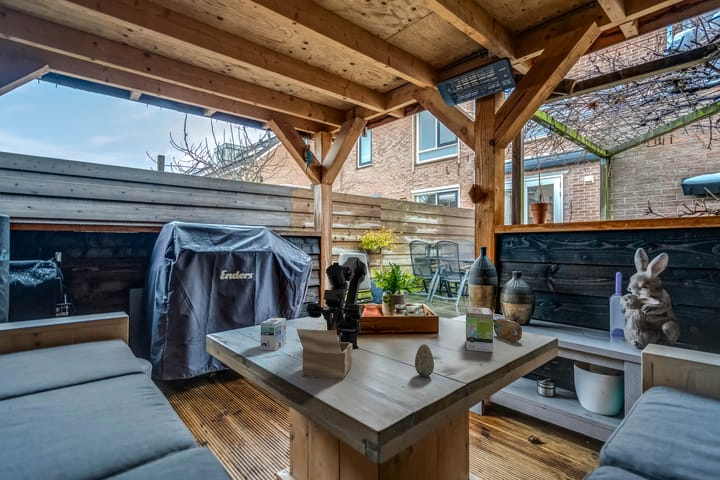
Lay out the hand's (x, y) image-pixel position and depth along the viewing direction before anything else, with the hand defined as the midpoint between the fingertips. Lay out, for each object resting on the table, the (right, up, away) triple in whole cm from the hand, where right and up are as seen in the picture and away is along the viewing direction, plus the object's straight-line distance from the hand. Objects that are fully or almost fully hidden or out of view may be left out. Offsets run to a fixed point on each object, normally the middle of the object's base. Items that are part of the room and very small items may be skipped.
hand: (329, 332), depth 114 cm
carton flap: (-2, 0, -10) cm, 10 cm away
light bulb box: (-25, -13, +27) cm, 39 cm away
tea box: (+59, -13, +27) cm, 66 cm away
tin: (+75, -13, +37) cm, 85 cm away
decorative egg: (+30, -12, -6) cm, 33 cm away
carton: (0, -12, -1) cm, 12 cm away
